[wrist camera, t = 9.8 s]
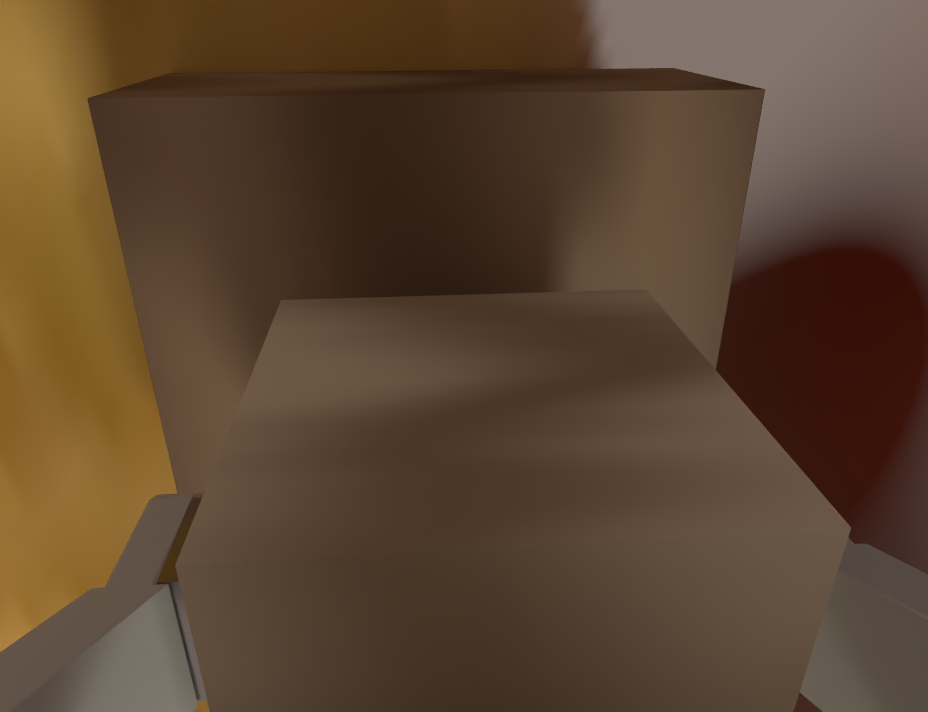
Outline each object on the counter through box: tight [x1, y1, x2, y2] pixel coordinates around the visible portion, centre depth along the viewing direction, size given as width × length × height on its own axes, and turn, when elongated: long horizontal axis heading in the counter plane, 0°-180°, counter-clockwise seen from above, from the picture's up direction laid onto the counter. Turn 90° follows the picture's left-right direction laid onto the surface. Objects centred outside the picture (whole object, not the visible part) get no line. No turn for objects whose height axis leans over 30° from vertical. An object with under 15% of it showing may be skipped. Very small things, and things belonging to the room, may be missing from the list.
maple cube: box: [175, 290, 851, 712], centre depth 9 cm, size 5×5×5 cm
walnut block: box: [87, 68, 765, 494], centre depth 14 cm, size 10×10×4 cm
